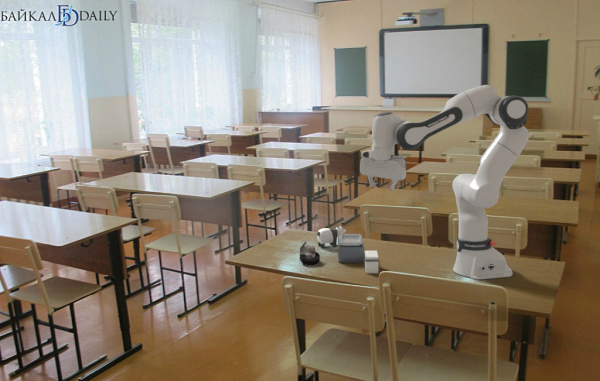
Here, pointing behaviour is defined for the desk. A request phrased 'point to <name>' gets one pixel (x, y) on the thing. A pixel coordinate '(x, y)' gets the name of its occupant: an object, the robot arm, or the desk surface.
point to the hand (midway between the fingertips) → (382, 188)
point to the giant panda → (329, 236)
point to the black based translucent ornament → (309, 255)
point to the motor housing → (350, 248)
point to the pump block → (371, 261)
